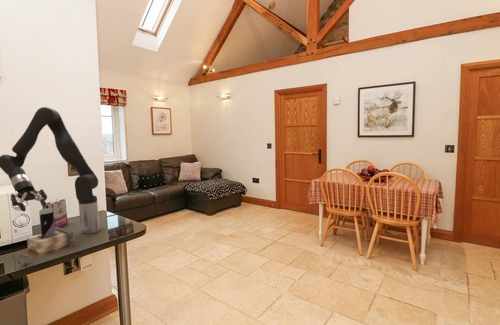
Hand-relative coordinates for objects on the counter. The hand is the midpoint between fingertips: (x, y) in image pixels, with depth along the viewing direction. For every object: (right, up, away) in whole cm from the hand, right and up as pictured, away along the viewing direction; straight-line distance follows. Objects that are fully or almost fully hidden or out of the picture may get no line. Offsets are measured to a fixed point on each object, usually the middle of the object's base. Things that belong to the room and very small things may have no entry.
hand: (34, 208), depth 139 cm
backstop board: (+11, -19, -7) cm, 23 cm away
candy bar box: (-8, -16, +29) cm, 34 cm away
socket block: (+11, -18, -6) cm, 22 cm away
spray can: (+12, -17, -5) cm, 21 cm away
